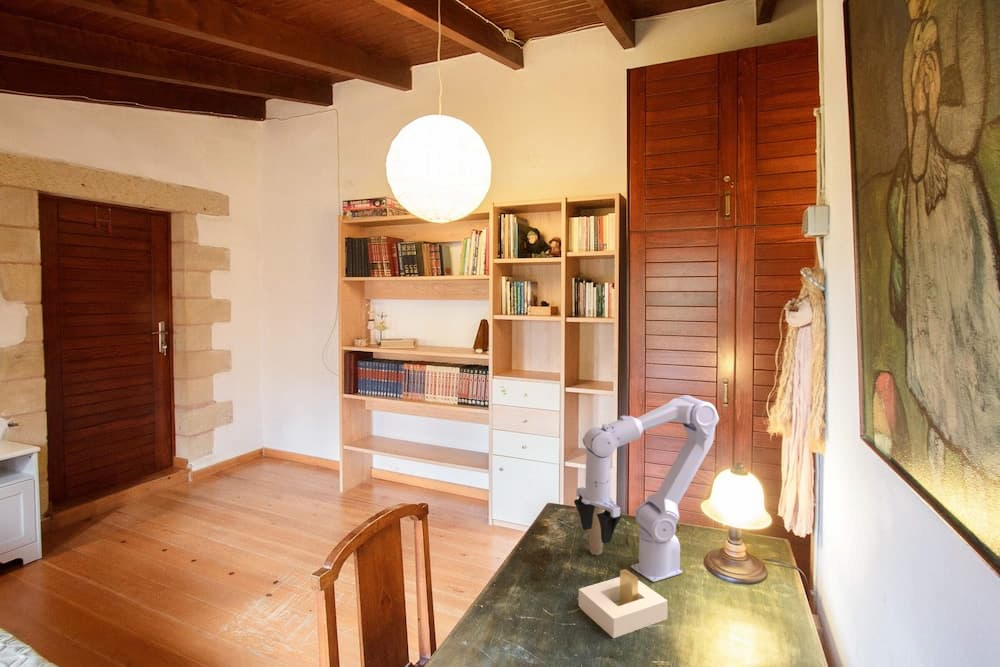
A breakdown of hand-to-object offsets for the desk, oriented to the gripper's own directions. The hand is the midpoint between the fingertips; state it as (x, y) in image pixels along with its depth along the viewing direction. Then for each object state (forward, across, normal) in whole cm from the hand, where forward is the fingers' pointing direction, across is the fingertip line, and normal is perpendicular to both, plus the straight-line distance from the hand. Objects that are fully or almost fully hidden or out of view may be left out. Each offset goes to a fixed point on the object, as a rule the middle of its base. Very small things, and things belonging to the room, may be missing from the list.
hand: (596, 535), depth 127 cm
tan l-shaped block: (+10, +14, -4) cm, 18 cm away
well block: (+10, +14, -4) cm, 18 cm away
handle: (+10, -10, +8) cm, 16 cm away
